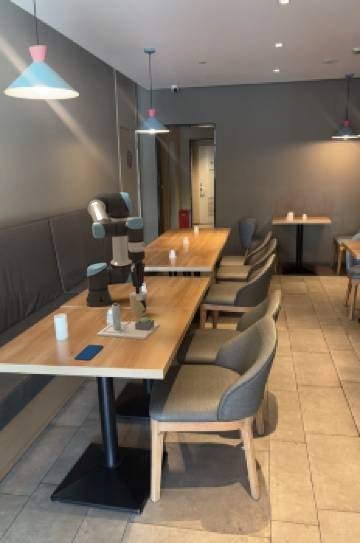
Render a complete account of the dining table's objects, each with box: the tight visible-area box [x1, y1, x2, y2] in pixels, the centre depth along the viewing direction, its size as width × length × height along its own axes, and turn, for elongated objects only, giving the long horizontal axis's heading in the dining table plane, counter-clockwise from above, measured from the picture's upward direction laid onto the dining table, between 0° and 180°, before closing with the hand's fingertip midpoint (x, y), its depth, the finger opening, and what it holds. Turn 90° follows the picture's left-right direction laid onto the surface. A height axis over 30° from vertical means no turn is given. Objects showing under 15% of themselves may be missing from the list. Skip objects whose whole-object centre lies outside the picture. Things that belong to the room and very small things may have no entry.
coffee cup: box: [128, 290, 148, 318], centre depth 239 cm, size 9×9×12 cm
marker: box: [111, 302, 121, 330], centre depth 214 cm, size 4×4×13 cm
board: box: [96, 318, 160, 340], centre depth 216 cm, size 24×20×4 cm
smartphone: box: [73, 344, 104, 361], centre depth 190 cm, size 7×1×15 cm
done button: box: [139, 316, 150, 323], centre depth 216 cm, size 4×4×3 cm
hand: (139, 299), depth 213 cm, fingers closed
